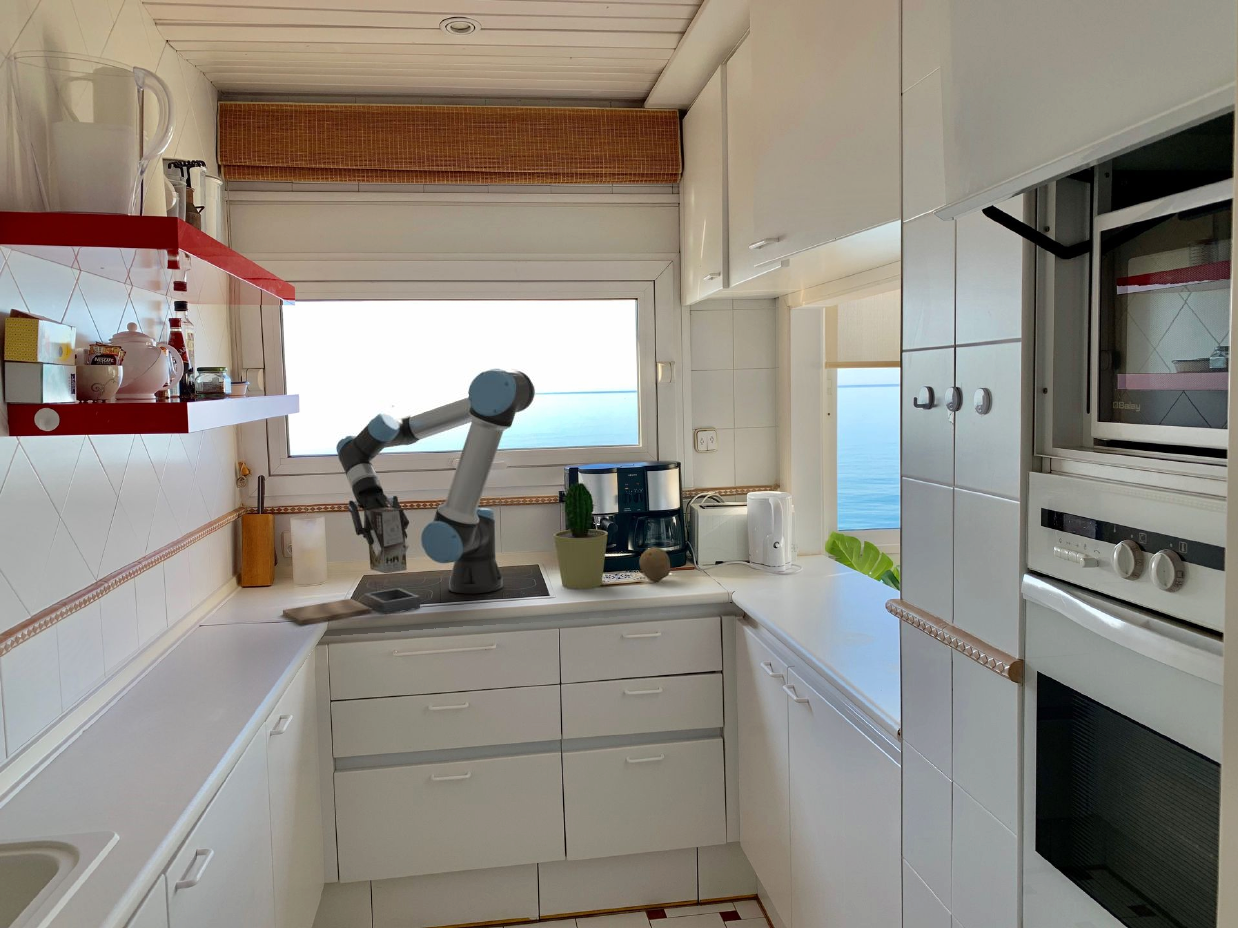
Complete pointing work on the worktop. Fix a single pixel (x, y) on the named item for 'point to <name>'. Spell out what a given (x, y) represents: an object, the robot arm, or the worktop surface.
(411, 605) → the holder
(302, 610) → the board
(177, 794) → the worktop surface
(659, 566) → the coconut
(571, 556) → the potted cactus
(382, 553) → the coffee box
